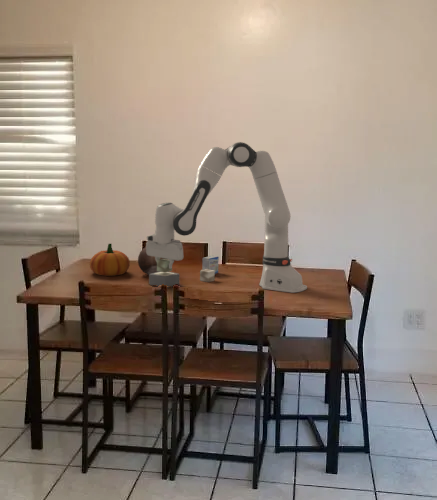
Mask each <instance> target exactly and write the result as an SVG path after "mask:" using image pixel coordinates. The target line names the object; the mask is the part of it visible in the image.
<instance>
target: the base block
mask: <svg viewBox="0 0 437 500" xmlns="http://www.w3.org/2000/svg"><path fill="white" fill-rule="evenodd" d="M149 284H150V286H153V285H157V286H156V287H158V286H159V285H162V284H164V285H167V286H171V287H174V286H173V285H175V284H178V285H180V273H178V272H173V271H169V272H156V273H151V274H149V275H148V285H149ZM175 286H176V285H175Z"/></svg>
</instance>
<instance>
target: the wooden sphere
mask: <svg viewBox="0 0 437 500" xmlns="http://www.w3.org/2000/svg"><path fill="white" fill-rule="evenodd" d="M137 257H138V258H137V263H138V264H137V265H138V267H139V268H140V270H141V271H142V272H143V273H145V274H146V275H148V276H149V274H151V273H156V272H160V271H157V262H156V260H155V257H154V256H148V255H147V253H146V246H145V247H143V248H142V250H141V251H140V252H139V254H138V256H137ZM161 259H165V258H160V260H161Z"/></svg>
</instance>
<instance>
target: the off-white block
mask: <svg viewBox="0 0 437 500" xmlns="http://www.w3.org/2000/svg"><path fill="white" fill-rule="evenodd" d="M199 273H200V274H199V281H200V282H206V283H210V282H214V281H215V275H216V274H215V270H209V269H205V270H202V269H201V270H200V271H199Z"/></svg>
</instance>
